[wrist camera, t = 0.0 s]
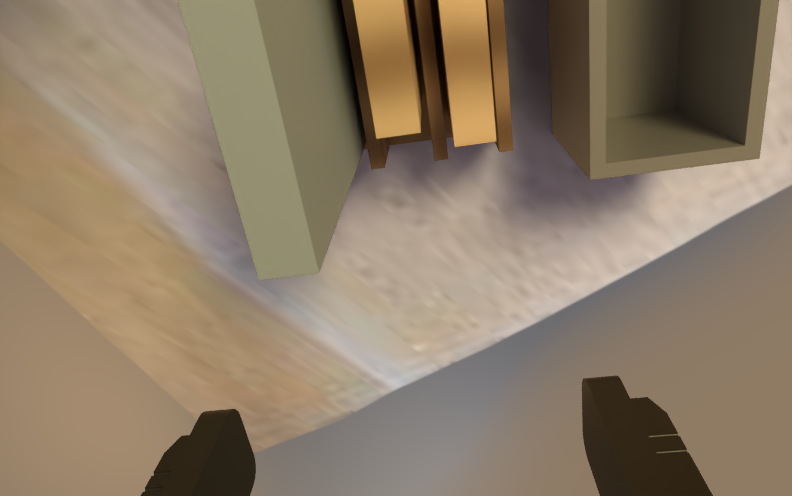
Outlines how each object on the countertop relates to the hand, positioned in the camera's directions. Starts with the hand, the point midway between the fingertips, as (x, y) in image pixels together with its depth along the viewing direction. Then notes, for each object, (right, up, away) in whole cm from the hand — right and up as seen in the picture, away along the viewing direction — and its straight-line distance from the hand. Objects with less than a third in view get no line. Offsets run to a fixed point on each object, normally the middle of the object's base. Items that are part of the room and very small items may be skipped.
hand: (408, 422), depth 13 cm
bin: (+14, +20, +22) cm, 33 cm away
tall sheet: (-4, +17, +22) cm, 28 cm away
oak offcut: (0, +18, +22) cm, 28 cm away
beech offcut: (+4, +17, +22) cm, 28 cm away
